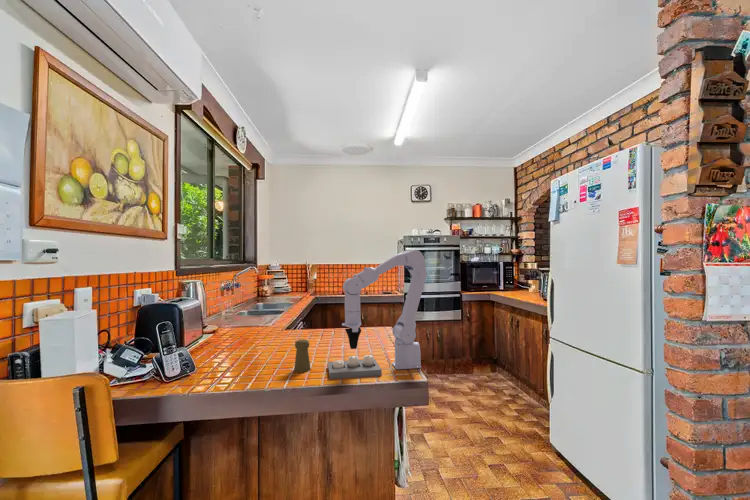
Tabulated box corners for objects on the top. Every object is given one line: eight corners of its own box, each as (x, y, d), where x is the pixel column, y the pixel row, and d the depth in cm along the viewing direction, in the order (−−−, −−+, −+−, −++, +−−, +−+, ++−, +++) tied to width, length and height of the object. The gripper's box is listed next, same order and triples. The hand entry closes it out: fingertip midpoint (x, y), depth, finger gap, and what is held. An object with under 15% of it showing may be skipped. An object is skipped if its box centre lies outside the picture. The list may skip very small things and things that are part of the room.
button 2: (358, 363, 136) (358, 355, 136) (359, 366, 133) (359, 358, 133) (348, 364, 136) (347, 356, 136) (349, 367, 132) (348, 358, 132)
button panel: (374, 364, 143) (374, 359, 143) (381, 375, 129) (381, 369, 129) (328, 367, 139) (327, 361, 139) (329, 378, 126) (329, 373, 126)
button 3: (343, 368, 135) (343, 359, 135) (344, 371, 132) (344, 362, 132) (333, 369, 135) (332, 360, 135) (333, 372, 131) (333, 363, 131)
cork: (312, 367, 140) (312, 338, 140) (308, 372, 134) (307, 341, 134) (296, 367, 140) (296, 338, 140) (291, 372, 134) (291, 341, 134)
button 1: (372, 362, 137) (372, 354, 137) (374, 365, 134) (374, 357, 134) (362, 363, 137) (362, 355, 137) (364, 366, 133) (364, 357, 133)
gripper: (340, 308, 141) (341, 344, 141) (343, 314, 127) (344, 354, 127) (358, 308, 142) (359, 343, 142) (363, 313, 128) (364, 352, 128)
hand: (353, 348), depth 134 cm, fingers closed
